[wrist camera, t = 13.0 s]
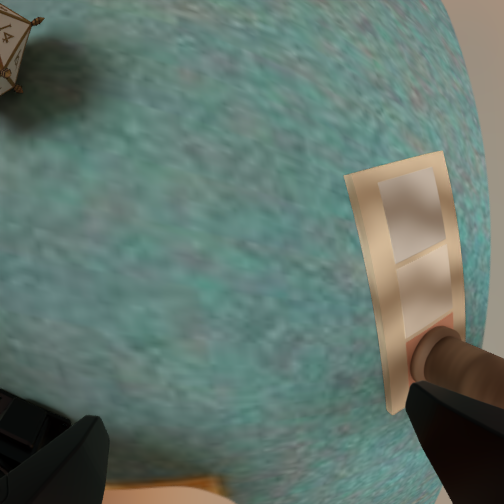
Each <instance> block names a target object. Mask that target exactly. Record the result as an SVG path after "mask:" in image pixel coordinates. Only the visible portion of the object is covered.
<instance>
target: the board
mask: <svg viewBox="0 0 504 504" xmlns="http://www.w3.org/2000/svg"><path fill="white" fill-rule="evenodd" d="M344 179H345V183H346V186H347V190H348V194H349V198H350V202H351V205H352V209H353V213H354V217H355V222H356V226H357V230H358V234H359V239H360V243H361V248H362V252H363V257H364V262H365V266H366V271H367V276H368V281H369V287H370V292H371V297H372V303H373V309H374V315H375V321H376V327H377V334H378V340H379V347H380V355H381V362H382V370H383V379H384V388H385V398H386V409H387V411H388V412H389V413H391V414H392V415H394V414H396V413H397V412H399V411H400V410H402V409H403V408H405V403H406V399H407V395H408V392H409V388H410V385H411V384H412V383H414V382H415V381H414V380H413V378H412V376H411V373H410V364H411V359H412V355H413V353H414V350H415V348H416V346H417V344H418V343H419V341H420V340H421V338H422V337H423V336H424V335H425V334H426V333H427V332H428V331H429V330H431V329H432V328H434V327H437V326H446V327H448V328H451V329H453V330H455V331H457V332H458V333H459V335H460V337H461V340H462V341H464V342H465V295H464V279H463V267H462V257H461V247H460V239H459V232H458V225H457V218H456V212H455V206H454V201H453V195H452V190H451V185H450V180H449V176H448V171H447V167H446V163H445V158H444V154H443V151H437V152H432V153H428V154H424V155H420V156H416V157H412V158H408V159H404V160H400V161H396V162H392V163H388V164H385V165H381V166H377V167H373V168H370V169H366V170H362V171H359V172H355V173H351V174H348V175H344Z"/></svg>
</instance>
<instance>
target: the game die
mask: <svg viewBox="0 0 504 504" xmlns="http://www.w3.org/2000/svg"><path fill="white" fill-rule="evenodd" d="M43 20H44V18H41V17H38V18H36V19H34V20H33V21H32V22H30V21H28V20H27V19H25V18H24V17H22V16H20V15H19V14H17V13H15V12H14V11H12V10H11V9H9V8H7V7H6V6H4V5H2V4H0V96H1V95H3V94H4V93H6V92H7V91H9V90H11V89H12V88H13V89H14V92H15V91H16V93H23V90H22V86H20V85H17V84H16V81H17V76H18V72H19V68H20V64H21V61H22V57H23V53H24V50H25V46H26V43H27V40H28V37H29V33H30V30H31V27H32V26H34V25H36V26H37V25H38V24H40V23H41V22H42V21H43Z"/></svg>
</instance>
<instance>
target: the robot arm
mask: <svg viewBox="0 0 504 504" xmlns="http://www.w3.org/2000/svg"><path fill="white" fill-rule="evenodd" d="M0 396H1V397H0V504H102V500H103V495H104V490H105V483H106V473H107V462H108V452H109V436H108V433H107V431H106V429H105V426H104V424H103V421H102V419H101V418H100V417H99V416H93V415H86V416H84V417H83V418H82V419H80V420H79V421H78V422H76V423H75V424H74V425H73V426H72V425H71V422H70V421H69V420H68V419H66V418H64V417H61V416H59V415H56V414H54V413H51V412H49V411H46V410H44V409H41V408H39V407H37V406H35V405H32V404H30V403H28V402H26V401H24V400H21V399H19V398H17V397H15V396H13V395H11V394H9V393H7V392H5V391H3V390H1V389H0ZM405 408H406V412H407V414H408V416H409V419H410V421H411V423H412V426H413V428H414V430H415V433H416V435H417V437H418V440H419V442H420V444H421V446H422V448H423V450H424V452H425V454H426V456H427V457H428V459H429V461H430V463H431V465H432V466H433V468H434V470H435V472H436V473H437V475H438V477H439V479H440V481H441V483H442V484H443V486H444V488H445V490H446V492H447V493H448V495H449V497H450V499H451V501H452V503H453V504H504V409H502V408H499V407H497V406H494V405H491V404H488V403H485V402H482V401H479V400H476V399H473V398H471V397H468V396H465V395H462V394H459V393H457V392H454V391H451V390H448V389H446V388H443V387H440V386H438V385H435V384H432V383H430V382H427V381H424V380H421V381H418V382H414V383H412V384H411V385H410V388H409V392H408V395H407V399H406V403H405ZM63 424H66V425H67V426H65V425H63Z"/></svg>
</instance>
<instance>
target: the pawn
mask: <svg viewBox="0 0 504 504" xmlns="http://www.w3.org/2000/svg"><path fill="white" fill-rule="evenodd" d="M410 373H411V376H412V378H413V380H414V381H415V382H418V381H421V380H424V381H427V382H430V383H432V384H435V385H438V386H440V387H443V388H446V389H448V390H451V391H454V392H457V393H459V394H462V395H465V396H468V397H471V398H473V399H476V400H479V401H482V402H485V403H488V404H491V405H494V406H497V407H499V408H502V409H504V359H503V358H501V357H499V356H496V355H494V354H492V353H489V352H487V351H485V350H482V349H480V348H478V347H475V346H473V345H471V344H468V343H466V342H464V341H462V340H461V337H460V335H459V333H458V332H457V331H455V330H453V329H451V328H448V327H446V326H437V327H434V328H432V329H431V330H429V331H428V332H427V333H426V334H425V335H424V336H423V337H422V338H421V340H420V341H419V343H418V344H417V346H416V348H415V350H414V353H413V355H412V359H411V364H410Z"/></svg>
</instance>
